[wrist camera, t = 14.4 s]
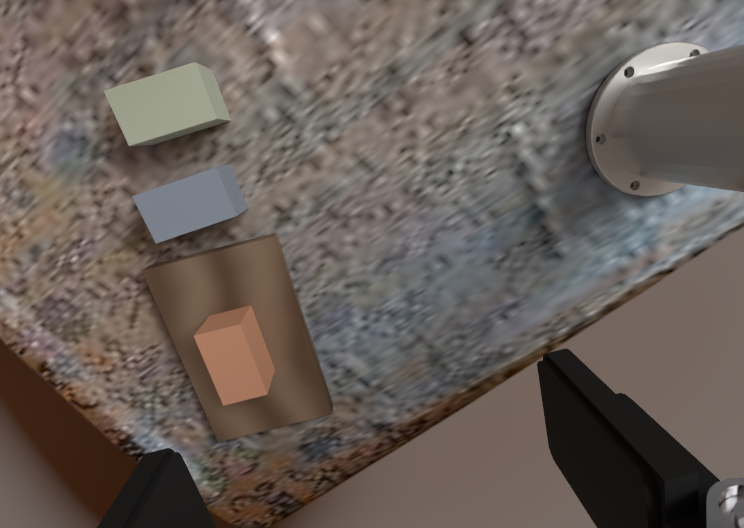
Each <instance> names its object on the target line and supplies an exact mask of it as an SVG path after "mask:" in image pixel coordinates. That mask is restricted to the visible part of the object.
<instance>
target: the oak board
mask: <svg viewBox="0 0 744 528" xmlns="http://www.w3.org/2000/svg"><path fill="white" fill-rule="evenodd" d="M142 273H143V275H144V277H145V280H146V282H147V284H148V286H149V288H150V291H151V293H152V295H153V297H154V300H155V302H156V304H157V306H158V309H159V311H160V313H161V315H162V318H163V320H164V322H165V324H166V327H167V329H168V331H169V333H170V336H171V338H172V340H173V342H174V344H175V347H176V349H177V351H178V353H179V356H180V358H181V360H182V362H183V365H184V367H185V369H186V371H187V374H188V376H189V378H190V380H191V383H192V385H193V387H194V389H195V392H196V394H197V396H198V398H199V401H200V403H201V405H202V407H203V409H204V412H205V414H206V416H207V418H208V421H209V423H210V425H211V427H212V430H213V432H214V434H215V436H216V439H217V441H218V442H222V441H226V440H230V439H234V438H238V437H242V436H246V435H250V434H254V433H258V432H262V431H266V430H270V429H274V428H278V427H282V426H286V425H290V424H294V423H298V422H302V421H306V420H310V419H314V418H318V417H322V416H326V415H330V414H332V411H333V404H332V401H331V398H330V395H329V392H328V388H327V385H326V382H325V379H324V376H323V373H322V370H321V367H320V364H319V361H318V358H317V355H316V352H315V349H314V346H313V343H312V340H311V337H310V334H309V331H308V328H307V325H306V322H305V319H304V316H303V313H302V310H301V307H300V304H299V301H298V298H297V295H296V291H295V288H294V285H293V282H292V279H291V276H290V273H289V270H288V267H287V264H286V261H285V258H284V255H283V252H282V249H281V246H280V243H279V240H278V237H277V234H276V233H274V234H270V235H266V236H262V237H258V238H254V239H251V240H247V241H243V242H239V243H235V244H231V245H227V246H224V247H220V248H216V249H212V250H208V251H204V252H200V253H197V254H193V255H189V256H185V257H181V258H177V259H173V260H170V261H166V262H162V263H158V264H154V265H150V266H148V267H147V268H145V269H144V270H142ZM250 305H251V306H252V309H253V312H254V314H255V317H256V320H257V323H258V325H259V328H260V331H261V333H262V336H263V339H264V341H265V344H266V347H267V350H268V352H269V355H270V358H271V360H272V363H273V366H274V368H275V372H274V375H273V378H272V381H271V384H270V388H269V391H268V394H267V395H264V396H260V397H256V398H252V399H248V400H244V401H240V402H236V403H232V404H228V405H224V406H223V404H222V402H221V399H220V397H219V395H218V392H217V390H216V388H215V385H214V383H213V380H212V378H211V376H210V373H209V371H208V369H207V366H206V364H205V362H204V359H203V357H202V355H201V352H200V350H199V348H198V345H197V343H196V341H195V338H194V335H195V333H196V332H197V331H198V330H199V328H200V327H201V326H202V324H203V323H204V322H205V321H206V319H207V318H208V317H209V316H211V315H215V314H219V313H223V312H226V311H230V310H234V309H238V308H242V307H246V306H250Z"/></svg>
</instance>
